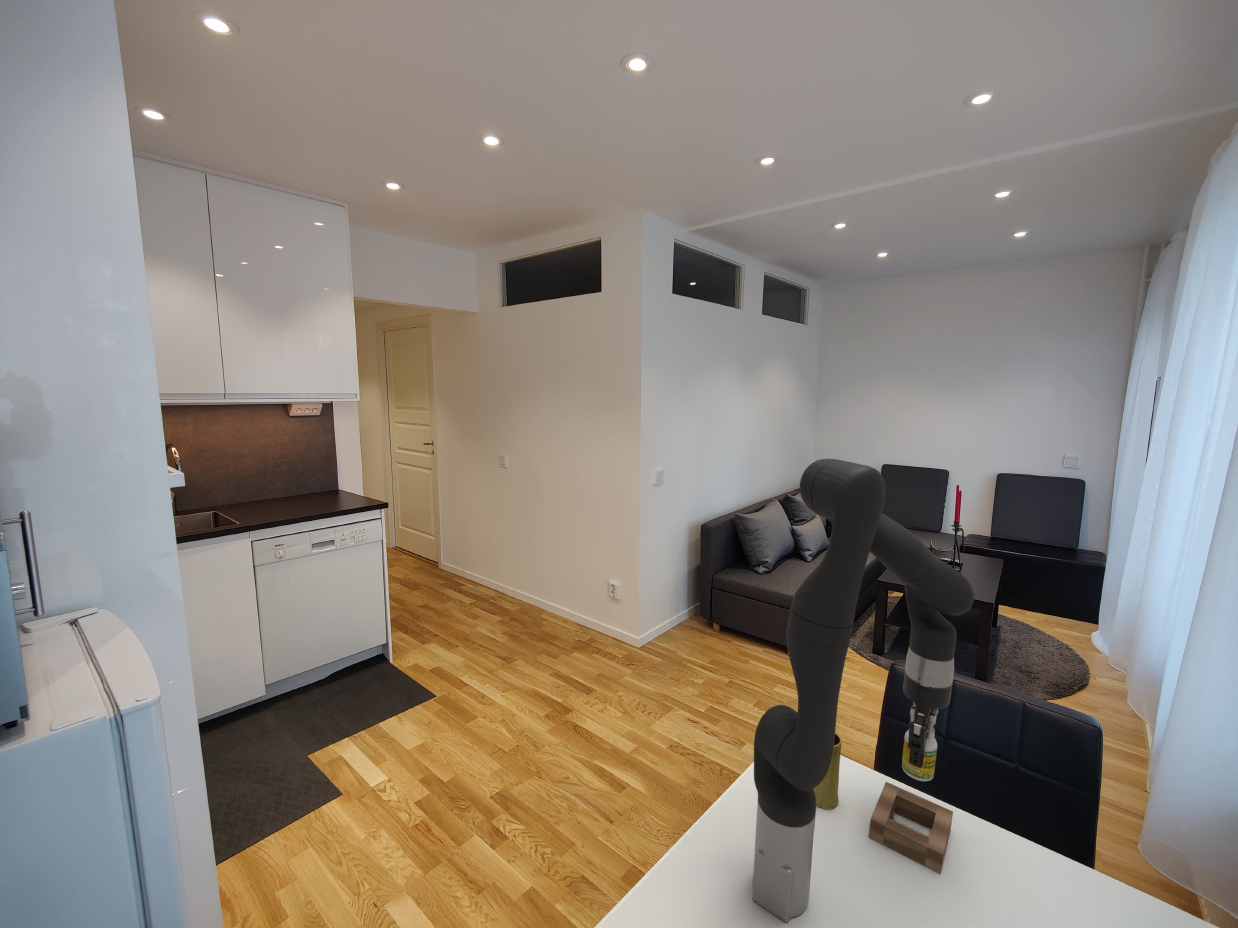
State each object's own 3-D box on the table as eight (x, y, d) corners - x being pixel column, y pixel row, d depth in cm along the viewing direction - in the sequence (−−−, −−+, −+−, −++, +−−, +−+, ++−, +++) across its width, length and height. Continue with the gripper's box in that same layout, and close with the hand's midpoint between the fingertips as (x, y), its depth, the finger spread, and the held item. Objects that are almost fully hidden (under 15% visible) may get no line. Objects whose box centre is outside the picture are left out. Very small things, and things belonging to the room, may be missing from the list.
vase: (841, 794, 112) (846, 734, 109) (835, 814, 107) (840, 751, 104) (811, 782, 115) (815, 723, 113) (804, 801, 110) (808, 740, 107)
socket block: (940, 873, 94) (943, 854, 94) (868, 836, 102) (870, 818, 101) (950, 828, 104) (953, 811, 103) (884, 797, 111) (885, 781, 110)
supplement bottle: (910, 757, 104) (915, 713, 102) (939, 774, 99) (945, 729, 98) (895, 768, 101) (900, 723, 99) (924, 786, 96) (930, 740, 95)
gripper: (913, 650, 104) (905, 727, 107) (896, 684, 93) (888, 768, 96) (958, 664, 100) (948, 743, 103) (946, 701, 89) (935, 789, 92)
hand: (919, 755), depth 99 cm, fingers closed on supplement bottle, 5 cm apart
